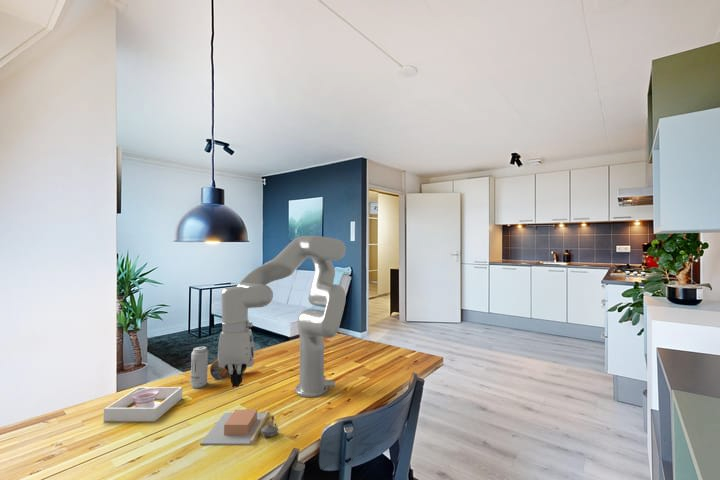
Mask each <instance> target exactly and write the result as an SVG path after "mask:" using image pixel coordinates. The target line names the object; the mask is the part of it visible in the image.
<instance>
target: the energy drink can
mask: <svg viewBox="0 0 720 480" xmlns="http://www.w3.org/2000/svg"><path fill="white" fill-rule="evenodd" d="M190 355H191V356H190V357H191V359H190V386H191V388H193V389H201V388H203V387H206V384H208V369H209V368H208V365H209V351H208V349H207V346H196V347H194V348H193V349H192V352H191V353H190Z"/></svg>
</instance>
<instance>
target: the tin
mask: <svg viewBox="0 0 720 480" xmlns="http://www.w3.org/2000/svg"><path fill="white" fill-rule="evenodd" d="M218 364H219V362H218V358H217V359H215V360H213V362H211V364H210V367H209V372H210V375H211V376H212V378H213V379H215V380H223V379H228V378H231V374H229V371H227V370H226V369H225V368H221V367H218ZM235 365H236V370H237V366H238V364H235ZM246 370H247V368H245V369H244V370H243V371H242V374H244V373H245V371H246Z"/></svg>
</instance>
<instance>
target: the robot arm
mask: <svg viewBox="0 0 720 480" xmlns="http://www.w3.org/2000/svg"><path fill="white" fill-rule="evenodd" d="M346 250H347V249H346V245H345V243H344V242H343V241H342V240H340V239H338V238H334V237H333V238H332V237H326V236H322V235H321V236H320V235H300V236H299V235H298V236H296V237H295V238H294V239H293V240H291V241H290V242H289V243H288V244H287V245H286V246H285V247H284V248H283V249H282V250H281V251H280V252H279V253H278V254H277V255H276V256H275V257H274V258H273V259H271V260H269V261H267V262H265V263H264V264H262V265H260V266H257V267H256V268H254V269H253V270H252V271H251V272H249V273H248V274H247V275H246V276H245V277H244V278H243V279H241V281H240V282H239V283H238V284H237V285H236V286H230V287H229V286H228V287H225V288H223V290H222V291H221V326H222V328H221V330H222V331H220V334H219V338H218V344H217V359H218V362H219V364H218V367H221V368H225V369H226V370H227V371H229V374H231V377H230V383H231V385H232V387H231V388H238V387H240V385H241V384H242V383H243V373H242V371H243V370H244V369H245V368H246V369H247V368H251V367H253V366H254V364H255V362H254V358H255V344H254V337H253V332H252V329H251V328H252V327H253V322H250V321H249V313H248V311H249V309H253V308H263V307H266V306H268V305H270V303H271V302H272V300H273V298H274V292H273V290H272V288H271V287H270V286H268V284H270V283H273V282H275V281H278V280H281V279H285V278H288V277H290V276H292V275H293V274H294V273H295V271H297V269H298V268H299V267H300V266H301V265H302V264H303V263H304V262H305V260H307V259H311V260H312V263H313V264H314V275H313V277H312V282H311V285H310V289H309V293H308V302H309V304H311V305H312V306H315V307H319V308H320V307H321V308H324V310H321V309H315V308H308V309H307V308H306V309H304V310H302V311H301V312H300V313H299V315H298V317H297V330H298V333H299V379H298V380H299V383H298V384H297V385H296V386H295V389H294V392H295V393H296V394H297V395H299V397H300V396H301V397H304V398H305V397H307V398H311V397H312V398H314V397H319V396H323V395H325V394H326V393H327V392H328V387H330V388H335V387H336V382H335V381H333V379H326V375H325V374H324V372H325V342H324V338H332V337H335V335H336V334H337V333H338V332H339V330H340V326H341V322H342V318H343V314H344V310H345V305H346V300H347V299H346V298H347V297H346V292H345V289H344V287H343V286H341V285H339V284H335V283H334V280H335V276H336V275H335V274H336V271H335V270H336V269H335V267H334V264H333V262H332V261H339V260H341V259H342V258H344V257H345V254H346V252H347V251H346ZM235 364H238V366H237V370H236V365H235Z"/></svg>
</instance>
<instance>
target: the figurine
mask: <svg viewBox="0 0 720 480" xmlns="http://www.w3.org/2000/svg"><path fill="white" fill-rule="evenodd" d="M274 422H275V423H274ZM260 431H261V436H263V437H264V439H267V438H271V437H274V436H277V435H278V433H279V431H280V430H279V425H278V424H277V421H276V420H275V416H274V415H272V416H271V418H270V419H268V421H267V424H266V425H264V426H262V428H261V430H260Z"/></svg>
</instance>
